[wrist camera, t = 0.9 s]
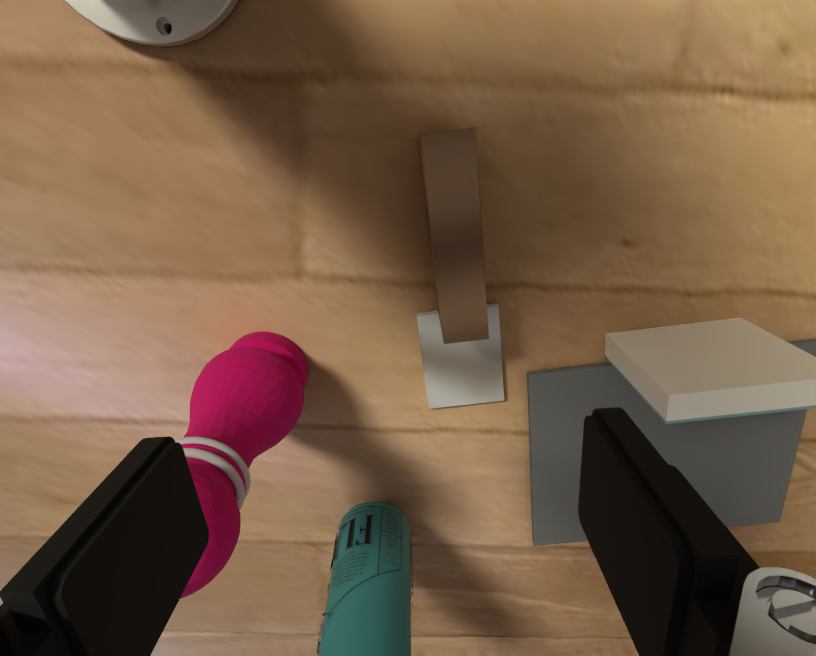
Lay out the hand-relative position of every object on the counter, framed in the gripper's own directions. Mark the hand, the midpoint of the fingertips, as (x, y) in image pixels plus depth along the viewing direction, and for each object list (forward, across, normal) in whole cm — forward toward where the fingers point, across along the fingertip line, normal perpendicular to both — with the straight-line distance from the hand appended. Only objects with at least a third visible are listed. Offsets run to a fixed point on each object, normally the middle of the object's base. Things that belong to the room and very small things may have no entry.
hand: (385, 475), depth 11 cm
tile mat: (+24, -20, +18) cm, 36 cm away
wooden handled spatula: (+23, -4, +3) cm, 24 cm away
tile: (+24, -20, +8) cm, 32 cm away
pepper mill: (+23, +11, +8) cm, 27 cm away
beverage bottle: (+24, +5, +24) cm, 34 cm away
